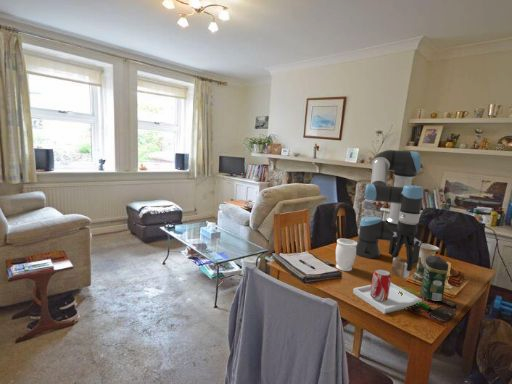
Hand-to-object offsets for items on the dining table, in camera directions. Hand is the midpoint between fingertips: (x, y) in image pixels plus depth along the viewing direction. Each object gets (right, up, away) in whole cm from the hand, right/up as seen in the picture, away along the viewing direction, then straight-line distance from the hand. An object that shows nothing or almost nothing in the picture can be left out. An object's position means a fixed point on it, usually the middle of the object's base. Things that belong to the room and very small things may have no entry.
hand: (399, 274), depth 123 cm
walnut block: (0, 0, 0) cm, 0 cm away
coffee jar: (+16, -12, +4) cm, 20 cm away
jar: (-15, -6, +30) cm, 34 cm away
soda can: (-10, -10, -1) cm, 14 cm away
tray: (-6, -11, +1) cm, 12 cm away
